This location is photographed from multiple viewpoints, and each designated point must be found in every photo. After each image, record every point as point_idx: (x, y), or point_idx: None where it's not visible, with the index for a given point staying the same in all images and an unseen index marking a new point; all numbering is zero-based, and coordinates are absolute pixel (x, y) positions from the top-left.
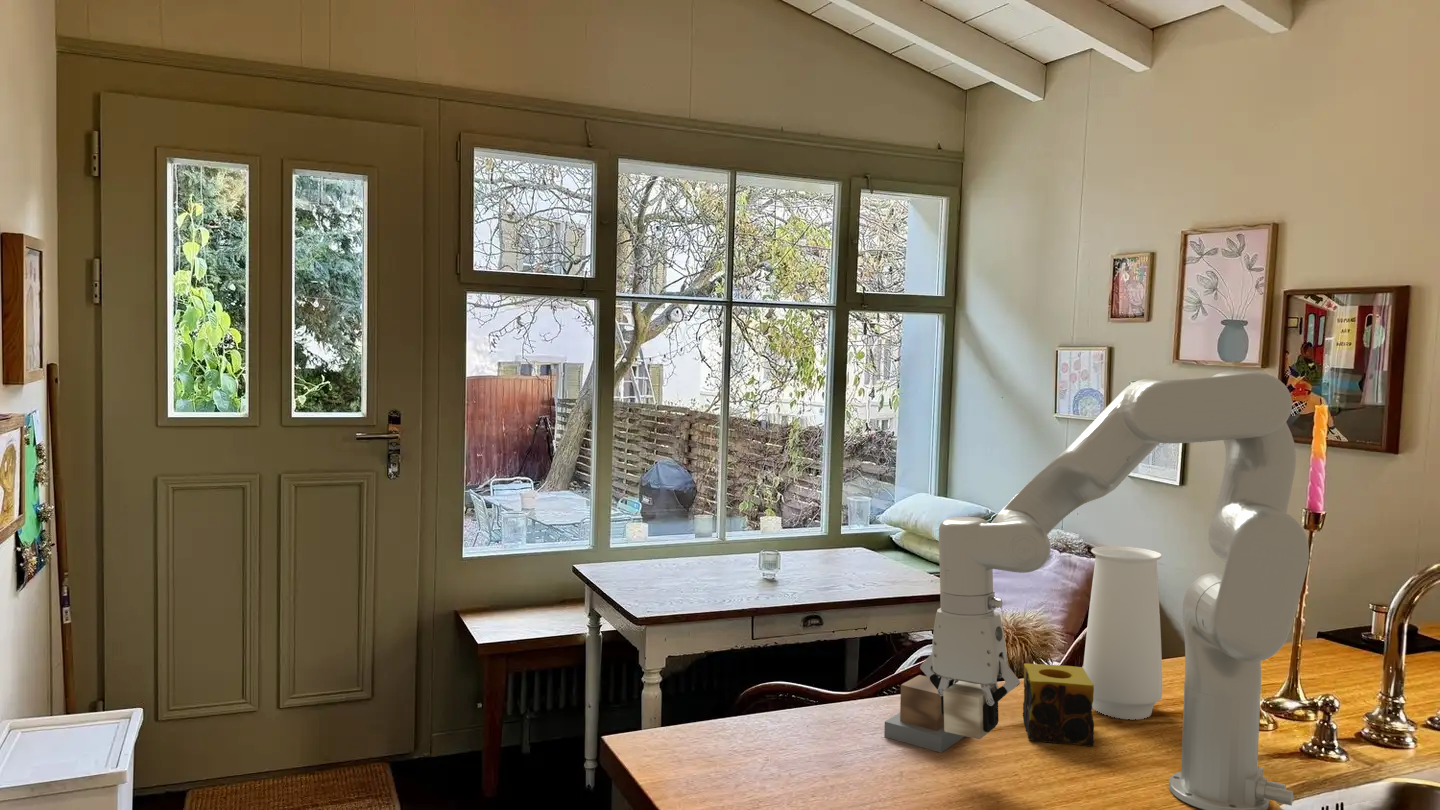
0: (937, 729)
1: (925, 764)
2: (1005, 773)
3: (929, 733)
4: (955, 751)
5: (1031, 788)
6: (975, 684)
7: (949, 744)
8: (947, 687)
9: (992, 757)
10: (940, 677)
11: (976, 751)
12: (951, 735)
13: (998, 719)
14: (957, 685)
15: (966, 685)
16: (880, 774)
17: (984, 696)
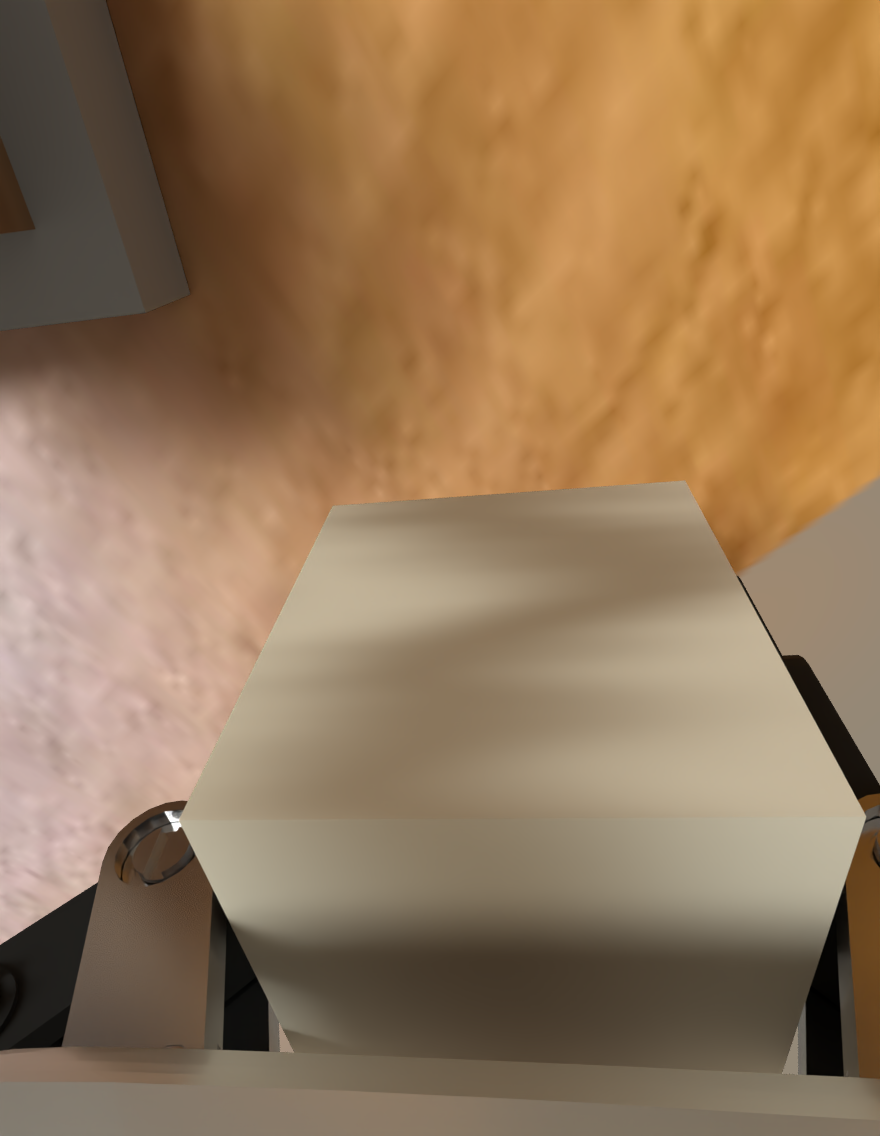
0: (27, 221)
1: (254, 503)
2: (647, 275)
3: (49, 319)
4: (226, 191)
5: (850, 362)
6: (497, 848)
7: (141, 151)
8: (273, 1034)
9: (461, 68)
10: (39, 1047)
11: (317, 54)
12: (99, 106)
13: (807, 663)
14: (308, 955)
15: (408, 922)
16: (213, 711)
17: (801, 1052)
